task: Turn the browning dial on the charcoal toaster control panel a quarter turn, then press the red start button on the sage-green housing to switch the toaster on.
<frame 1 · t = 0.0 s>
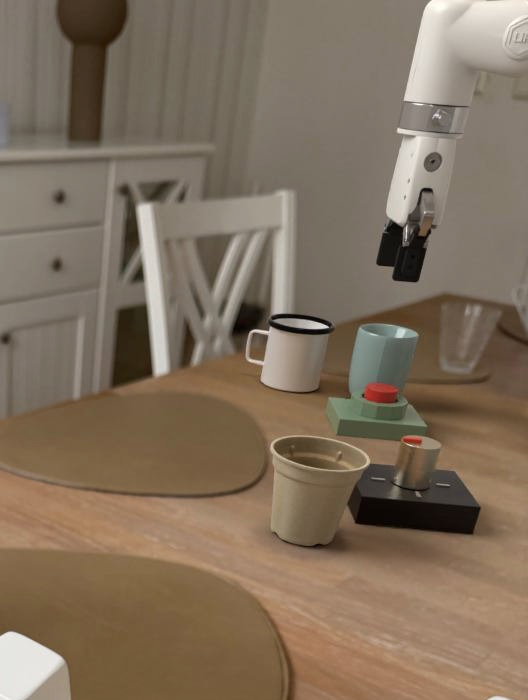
hand: (396, 273, 124), 18 cm above the table, tool pointing down, fingers open, 9 cm apart
mug: (280, 384, 143), on the table
start button: (380, 394, 126), point 4 cm above the table, slide at 0.1 cm
flower pot: (301, 535, 98), on the table
cup: (371, 404, 137), on the table
button housing: (372, 427, 128), on the table
dial panel: (403, 509, 105), on the table
browning dial: (416, 461, 102), point 5 cm above the table, hinge at 0.0°
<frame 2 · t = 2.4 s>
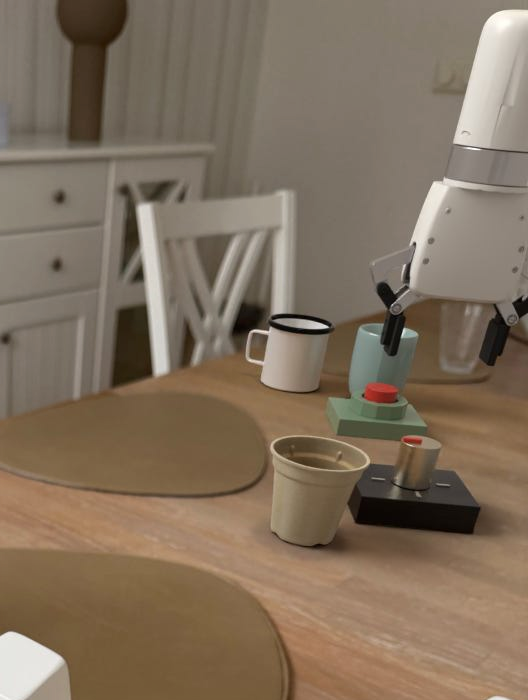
hand: (437, 357, 98), 16 cm above the table, tool pointing down, fingers open, 9 cm apart
nothing on the table moved.
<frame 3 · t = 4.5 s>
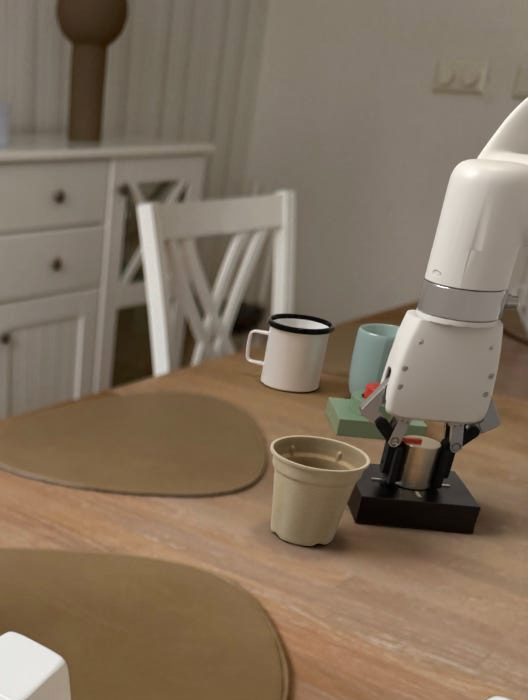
hand: (411, 479, 103), 3 cm above the table, tool pointing down, fingers open, 4 cm apart
browning dial: (416, 461, 102), point 5 cm above the table, hinge at 0.0°, touching gripper
everything else where it was.
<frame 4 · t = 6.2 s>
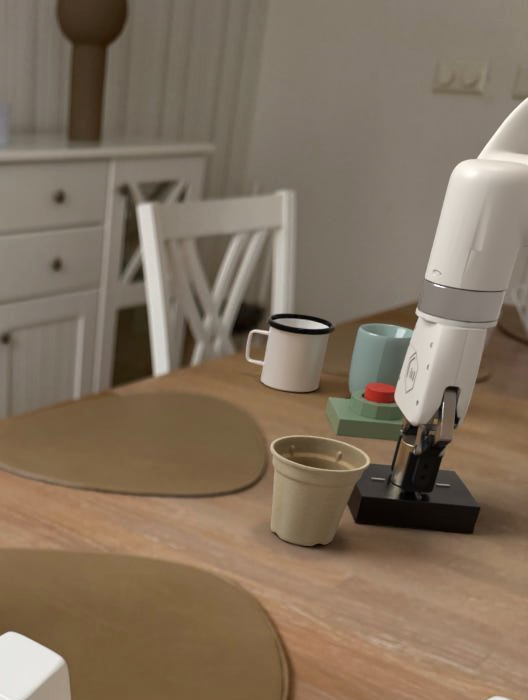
hand: (410, 479, 103), 3 cm above the table, tool pointing down, fingers open, 4 cm apart
browning dial: (416, 461, 102), point 5 cm above the table, hinge at 88.2°
everything else where it was.
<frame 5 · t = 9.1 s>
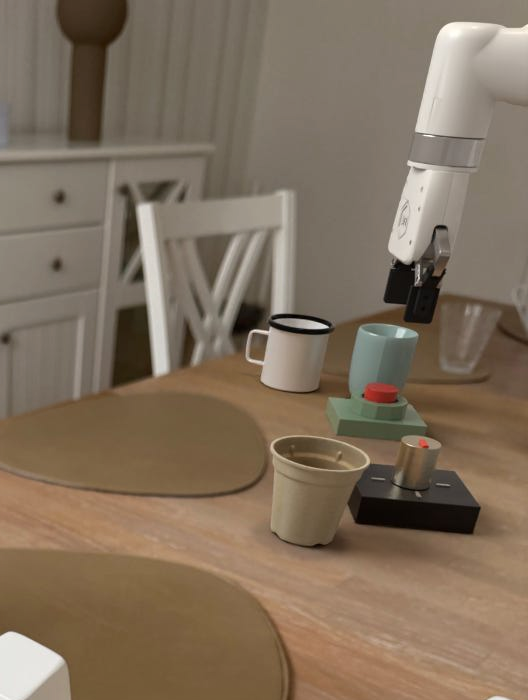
hand: (405, 312, 117), 15 cm above the table, tool pointing down, fingers open, 9 cm apart
nothing on the table moved.
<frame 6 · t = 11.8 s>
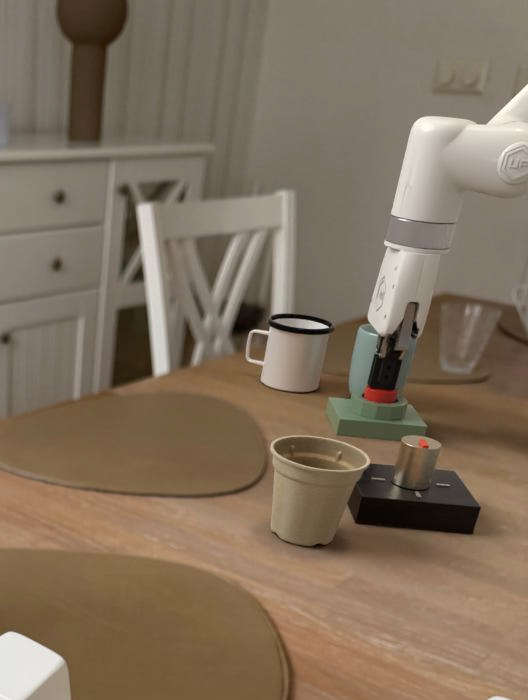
hand: (380, 387, 125), 5 cm above the table, tool pointing down, fingers closed
start button: (380, 394, 126), point 4 cm above the table, slide at 0.0 cm, touching gripper
everything else where it was.
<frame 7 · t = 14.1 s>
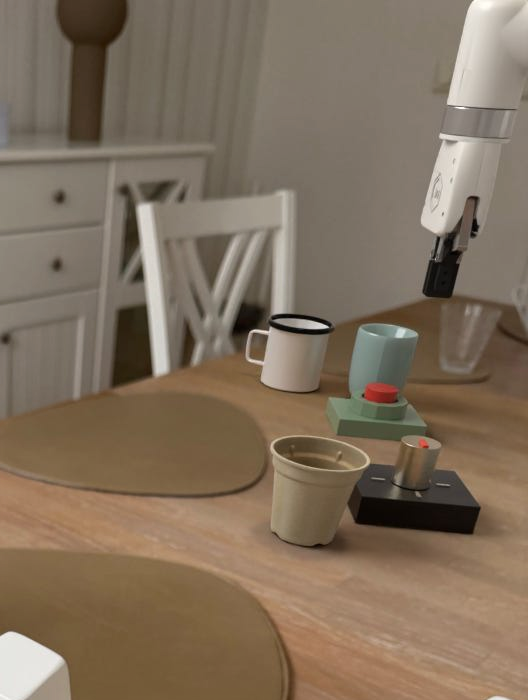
hand: (436, 295, 119), 17 cm above the table, tool pointing down, fingers closed
start button: (380, 394, 126), point 4 cm above the table, slide at 0.1 cm
everything else where it was.
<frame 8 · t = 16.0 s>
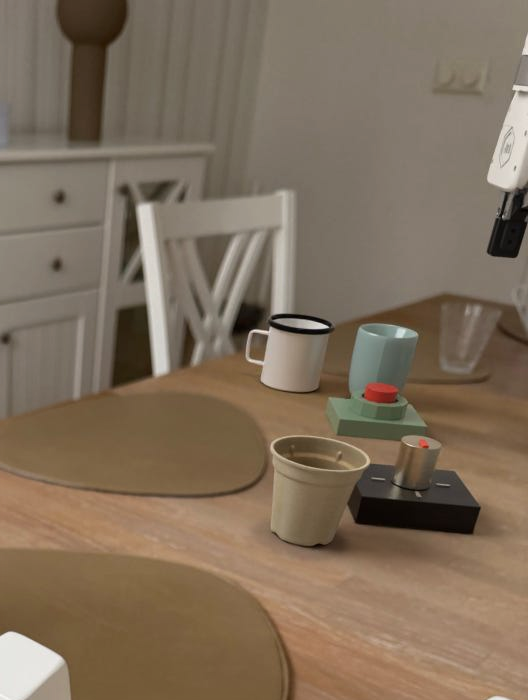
hand: (501, 255, 116), 22 cm above the table, tool pointing down, fingers closed
nothing on the table moved.
at the end: browning dial at +88° (first picture: +0°); start button pushed in 1.1 cm at the most during the clip, back to where it started at the end; start button slide at 0.1 cm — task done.
